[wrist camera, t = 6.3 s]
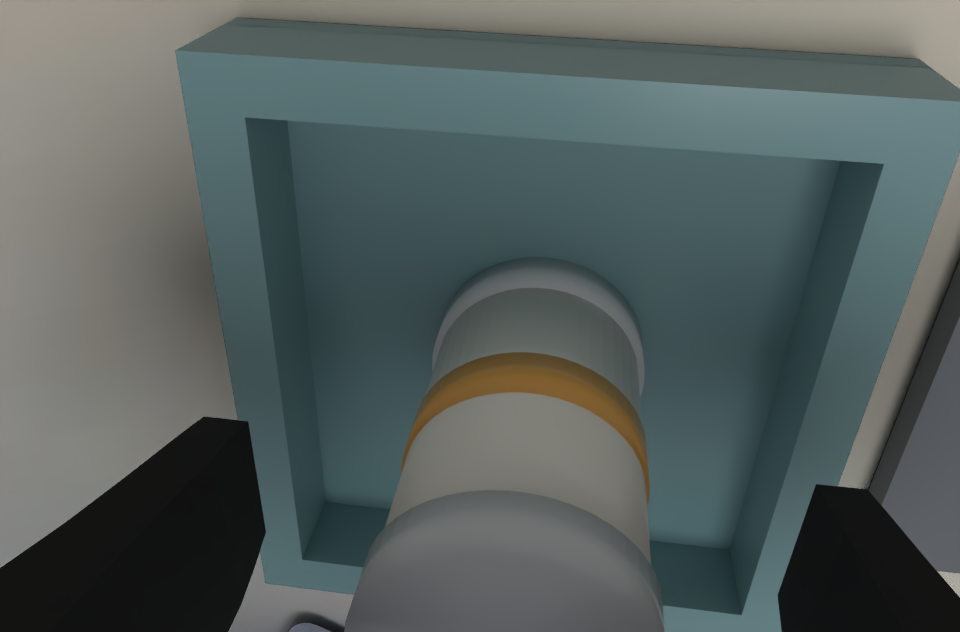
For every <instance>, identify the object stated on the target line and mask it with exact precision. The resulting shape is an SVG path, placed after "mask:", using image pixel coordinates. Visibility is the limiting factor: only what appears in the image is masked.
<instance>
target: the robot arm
mask: <svg viewBox="0 0 960 632" xmlns="http://www.w3.org/2000/svg"><path fill="white" fill-rule="evenodd" d="M265 534H266V529H265V523H264V516H263V510H262V504H261V498H260V491H259V485H258V479H257V473H256V466H255V460H254V454H253V448H252V442H251V435H250V429H249V423H248V421H239V420H230V419H221V418H212V417H203V418H201V419H200V420H199V421H197V422H196V423H195V424H193V425H192V426H191V427H189V428H188V429H187V430H185V431H184V432H183V433H181V434H180V435H179V436H178V437H176V438H175V439H174V440H172V441H171V442H170V443H169V444H167V445H166V446H165V447H163V448H162V449H161V450H160V451H158V452H157V453H156V454H154V455H153V456H152V457H151V458H149V459H148V460H147V461H146V462H144V463H143V464H142V465H140V466H139V467H138V468H137V469H135V470H134V471H133V472H131V473H130V474H129V475H128V476H126V477H125V478H124V479H122V480H121V481H120V482H118V483H117V484H116V485H114V486H113V487H112V488H111V489H109V490H108V491H107V492H105V493H104V494H103V495H101V496H100V497H99V498H97V499H96V500H95V501H93V502H92V503H91V504H89V505H88V506H87V507H85V508H84V509H83V510H81V511H80V512H79V513H78V514H76V515H75V516H74V517H72V518H71V519H70V520H68V521H67V522H65V523H64V524H63V525H61V526H60V527H59V528H57V529H56V530H54V531H53V532H51V533H50V534H48V535H47V536H46V537H44V538H43V539H41V540H40V541H38V542H37V543H36V544H34V545H33V546H31V547H30V548H28V549H27V550H26V551H24V552H23V553H21V554H20V555H18V556H17V557H15V558H14V559H13V560H11V561H10V562H8V563H7V564H5V565H4V566H3V567H1V568H0V632H228V631H229V629H230V627H231V625H232V623H233V620H234V618H235V616H236V614H237V612H238V610H239V608H240V606H241V603H242V600H243V598H244V595H245V592H246V589H247V587H248V584H249V581H250V578H251V576H252V573H253V570H254V567H255V564H256V561H257V558H258V555H259V552H260V549H261V546H262V543H263V540H264V537H265ZM778 604H779V613H780V621H781V630H782V632H960V598H959V596H958V595H957V594H956V593H955V592H954V591H953V589H952V588H951V587H950V586H949V585H948V584H947V582H946V581H945V580H944V579H943V578H942V577H941V575H940V574H939V573H938V572H937V571H936V570H935V568H934V567H933V566H932V565H931V564H930V563H929V561H928V560H927V559H926V558H925V557H924V555H923V554H922V553H921V552H920V551H919V550H918V548H917V547H916V546H915V545H914V544H913V542H912V541H911V540H910V539H909V538H908V536H907V535H906V534H905V533H904V532H903V530H902V529H901V528H900V527H899V526H898V524H897V523H896V522H895V521H894V520H893V518H892V517H891V516H890V515H889V514H888V513H887V511H886V510H885V509H884V508H883V507H882V505H881V504H880V503H879V502H878V501H877V500H876V499H875V497H874V496H873V495H872V494H871V493H870V492H869V490H866V489H857V488H847V487H838V486H829V485H820V484H816V485H815V488H814V491H813V494H812V497H811V500H810V503H809V506H808V509H807V511H806V514H805V517H804V520H803V523H802V526H801V529H800V532H799V535H798V538H797V540H796V543H795V546H794V549H793V552H792V555H791V558H790V561H789V564H788V566H787V569H786V572H785V575H784V578H783V581H782V584H781V587H780V590H779V592H778ZM289 632H331V631H329V630H327V629H324V628H322V627H320V626H318V625H315V624H311V623H301V624H297V625H295V626H293V627H292V628H291V629H290V631H289Z"/></svg>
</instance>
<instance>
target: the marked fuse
mask: <svg viewBox="0 0 960 632" xmlns="http://www.w3.org/2000/svg"><path fill="white" fill-rule="evenodd" d="M432 371H433V373H432V376H431V380H430V383H429V386H428V389H427V392H426V395H425V397H424V398H423V400H422V402H421V404H420V406H419V408H418V411H417V413H416V416H415V419H414V422H413V426H412V429H411V432H410V435H409V438H408V441H407V445H406V448H405V451H404V454H403V459H402V465H401V477H400V480H399V483H398V486H397V490H396V493H395V496H394V499H393V503H392V506H391V509H390V512H389V516H388V519H387V522H386V525H385V528H384V529H383V530H382V531H381V533H380V534H379V535H378V536H377V537H376V539H375V541H374V542H373V544H372V546H371V547H370V549H369V552H368V555H367V557H366V560H365V563H364V566H363V569H362V573H361V576H360V579H359V582H358V585H357V588H356V591H355V594H354V597H353V601H352V604H351V607H350V610H349V613H348V616H347V619H346V624H345V631H344V632H665V624H664V611H663V600H662V593H661V588H660V585H659V582H658V579H657V576H656V574H655V572H654V570H653V568H652V567H651V557H650V542H649V527H648V512H647V507H648V503H649V494H650V483H649V469H648V455H647V443H646V436H645V432H644V429H643V425H642V421H641V406H640V397H641V394H642V390H643V385H644V373H645V368H644V356H643V343H642V335H641V329H640V326H639V322H638V319H637V317H636V315H635V313H634V311H633V308H632V307H631V305H630V304H629V302H628V301H627V299H626V298H625V297H624V296H623V295H622V293H621V292H620V291H619V290H618V289H617V288H616V287H615V286H614V285H612V284H611V283H610V282H609V281H608V280H606V279H605V278H603V277H602V276H600V275H599V274H597V273H596V272H594V271H592V270H590V269H588V268H586V267H584V266H581V265H578V264H575V263H572V262H569V261H564V260H560V259H554V258H544V257H528V258H520V259H514V260H510V261H506V262H502V263H499V264H497V265H494V266H492V267H489V268H487V269H485V270H483V271H482V272H480V273H478V274H477V275H475V276H474V277H473V278H471V279H470V280H469V281H467V282H466V283H465V284H464V285H463V286H462V287H461V288H460V289H459V290H458V292H457V293H456V294H455V296H454V297H453V298H452V300H451V302H450V303H449V305H448V307H447V309H446V312H445V315H444V318H443V320H442V324H441V327H440V330H439V333H438V336H437V339H436V342H435V345H434V351H433V356H432Z"/></svg>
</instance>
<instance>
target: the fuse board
mask: <svg viewBox="0 0 960 632" xmlns="http://www.w3.org/2000/svg"><path fill="white" fill-rule="evenodd" d="M869 492H870V493H871V494H872V495H873V496H874V497H875V499H876V500H877V501H878V502H879V503H880V504H881V505H882V507H883V508H884V509H885V510H886V511H887V513H888V514H889V515H890V516H891V517H892V518H893V520H894V521H895V522H896V523H897V524H898V526H899V527H900V528H901V529H902V530H903V532H904V533H905V534H906V535H907V536H908V538H909V539H910V540H911V541H912V542H913V544H914V545H915V546H916V547H917V548H918V550H919V551H920V552H921V553H922V554H923V555H924V557H925V558H926V559H927V560H928V561H929V563H930V564H931V565H932V566H933V567H934V568H935V570H936V571H944V572H952V573H960V261H959V263H958V266H957V268H956V271H955V273H954V276H953V278H952V281H951V283H950V286H949V288H948V291H947V293H946V296H945V298H944V301H943V303H942V306H941V309H940V311H939V314H938V316H937V319H936V321H935V324H934V326H933V329H932V331H931V334H930V336H929V339H928V341H927V344H926V346H925V349H924V351H923V354H922V357H921V359H920V362H919V364H918V367H917V369H916V372H915V374H914V377H913V379H912V382H911V384H910V387H909V389H908V392H907V394H906V397H905V399H904V402H903V405H902V407H901V410H900V412H899V415H898V417H897V420H896V422H895V425H894V427H893V430H892V432H891V435H890V437H889V440H888V442H887V445H886V447H885V450H884V453H883V455H882V458H881V460H880V463H879V465H878V468H877V470H876V473H875V475H874V478H873V480H872V483H871V485H870V488H869Z"/></svg>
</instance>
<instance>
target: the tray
mask: <svg viewBox="0 0 960 632" xmlns="http://www.w3.org/2000/svg"><path fill="white" fill-rule="evenodd" d="M175 52H176V57H177V63H178V69H179V75H180V81H181V87H182V93H183V99H184V105H185V111H186V117H187V122H188V128H189V134H190V140H191V146H192V152H193V158H194V164H195V170H196V176H197V181H198V187H199V193H200V199H201V205H202V211H203V217H204V223H205V229H206V235H207V241H208V246H209V252H210V258H211V264H212V270H213V276H214V282H215V288H216V294H217V300H218V305H219V311H220V317H221V323H222V329H223V335H224V341H225V347H226V353H227V359H228V364H229V370H230V376H231V382H232V388H233V394H234V400H235V406H236V412H237V418H238V420H239V421H248V423H249V429H250V435H251V442H252V448H253V454H254V460H255V466H256V473H257V479H258V485H259V491H260V498H261V504H262V510H263V516H264V523H265V529H266V534H265V537H264V540H263V543H262V546H261V549H260V553H261V559H262V565H263V571H264V577H265V583H268V584H275V585H283V586H291V587H299V588H306V589H314V590H322V591H329V592H337V593H345V594H353V595H354V594H355V591H356V588H357V585H358V582H359V579H360V576H361V573H362V569H363V566H364V563H365V560H366V557H367V555H368V552H369V549H370V547H371V546H372V544H373V542H374V541H375V539H376V537H377V536H378V535H379V534H380V533H381V531H382V530H383V529H384V528H385V525H386V522H387V519H388V516H389V512H390V509H391V506H392V503H393V499H394V496H395V493H396V490H397V486H398V483H399V480H400V477H401V465H402V459H403V454H404V451H405V448H406V445H407V441H408V438H409V435H410V432H411V429H412V426H413V422H414V419H415V416H416V413H417V411H418V408H419V406H420V404H421V402H422V400H423V398H424V397H425V395H426V392H427V389H428V386H429V383H430V380H431V376H432V373H433V371H432V356H433V351H434V345H435V342H436V339H437V336H438V333H439V330H440V327H441V324H442V320H443V318H444V315H445V312H446V309H447V307H448V305H449V303H450V302H451V300H452V298H453V297H454V296H455V294H456V293H457V292H458V290H459V289H460V288H461V287H462V286H463V285H464V284H465V283H466V282H467V281H469V280H470V279H471V278H473V277H474V276H475V275H477V274H478V273H480V272H482V271H483V270H485V269H487V268H489V267H492V266H494V265H497V264H499V263H502V262H506V261H510V260H514V259H520V258H528V257H544V258H554V259H560V260H564V261H569V262H572V263H575V264H578V265H581V266H584V267H586V268H588V269H590V270H592V271H594V272H596V273H597V274H599V275H600V276H602V277H603V278H605V279H606V280H608V281H609V282H610V283H611V284H612V285H614V286H615V287H616V288H617V289H618V290H619V291H620V292H621V293H622V295H623V296H624V297H625V298H626V299H627V301H628V302H629V304H630V305H631V307H632V308H633V311H634V313H635V315H636V317H637V319H638V322H639V326H640V329H641V335H642V343H643V356H644V368H645V373H644V385H643V390H642V394H641V397H640V406H641V421H642V425H643V429H644V432H645V436H646V443H647V455H648V469H649V483H650V494H649V503H648V507H647V512H648V527H649V542H650V557H651V567H652V568H653V570H654V572H655V574H656V576H657V579H658V582H659V585H660V588H661V593H662V600H663V611H664V624H665V632H782V630H781V621H780V613H779V604H778V592H779V590H780V587H781V584H782V581H783V578H784V575H785V572H786V569H787V566H788V564H789V561H790V558H791V555H792V552H793V549H794V546H795V543H796V540H797V538H798V535H799V532H800V529H801V526H802V523H803V520H804V517H805V514H806V511H807V509H808V506H809V503H810V500H811V497H812V494H813V491H814V488H815V485H816V484H820V485H829V486H838V484H839V481H840V478H841V475H842V473H843V470H844V467H845V465H846V462H847V459H848V456H849V454H850V451H851V448H852V445H853V443H854V440H855V437H856V434H857V432H858V429H859V426H860V424H861V421H862V418H863V415H864V413H865V410H866V407H867V404H868V402H869V399H870V396H871V394H872V391H873V388H874V385H875V383H876V380H877V377H878V374H879V372H880V369H881V366H882V363H883V361H884V358H885V355H886V353H887V350H888V347H889V344H890V342H891V339H892V336H893V333H894V331H895V328H896V325H897V322H898V320H899V317H900V314H901V312H902V309H903V306H904V303H905V301H906V298H907V295H908V292H909V290H910V287H911V284H912V282H913V279H914V276H915V273H916V271H917V268H918V265H919V262H920V260H921V257H922V254H923V251H924V249H925V246H926V243H927V241H928V238H929V235H930V232H931V230H932V227H933V224H934V221H935V219H936V216H937V213H938V211H939V208H940V205H941V202H942V200H943V197H944V194H945V191H946V189H947V186H948V183H949V180H950V178H951V175H952V172H953V170H954V167H955V164H956V161H957V159H958V156H959V153H960V89H959V88H957V87H956V86H955V85H953V84H952V83H951V82H949V81H948V80H946V79H945V78H944V77H942V76H941V75H940V74H938V73H937V72H936V71H934V70H933V69H932V68H930V67H929V66H928V65H926V64H925V63H924V62H922V61H921V60H919V59H909V58H893V57H876V56H860V55H843V54H827V53H810V52H794V51H777V50H761V49H744V48H728V47H711V46H695V45H678V44H662V43H645V42H629V41H612V40H596V39H579V38H563V37H546V36H530V35H513V34H497V33H480V32H464V31H447V30H431V29H414V28H398V27H381V26H365V25H348V24H332V23H315V22H299V21H282V20H266V19H249V18H236V19H234V20H232V21H230V22H228V23H226V24H224V25H222V26H220V27H219V28H217V29H215V30H213V31H211V32H209V33H207V34H205V35H204V36H202V37H200V38H198V39H196V40H194V41H192V42H190V43H188V44H187V45H185V46H183V47H181V48H179V49H177V50H175Z"/></svg>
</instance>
